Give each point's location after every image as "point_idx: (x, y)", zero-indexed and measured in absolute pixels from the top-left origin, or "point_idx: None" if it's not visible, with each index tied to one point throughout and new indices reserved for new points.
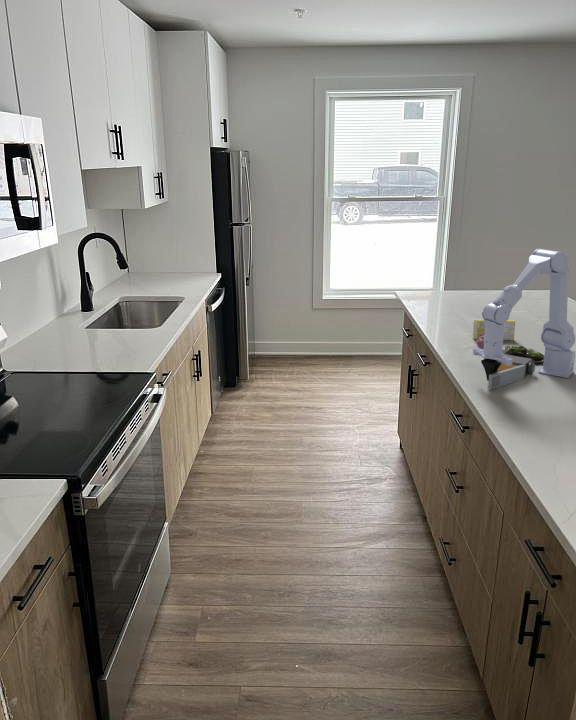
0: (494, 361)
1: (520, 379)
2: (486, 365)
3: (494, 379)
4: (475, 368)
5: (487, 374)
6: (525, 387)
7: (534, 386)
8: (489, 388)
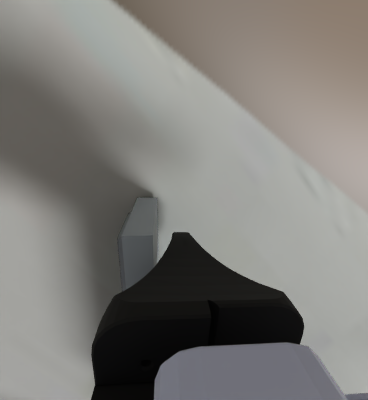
0: (121, 392)
1: None
2: (199, 285)
3: (119, 236)
4: (344, 328)
5: (186, 247)
6: (79, 330)
7: (70, 359)
8: (147, 198)
